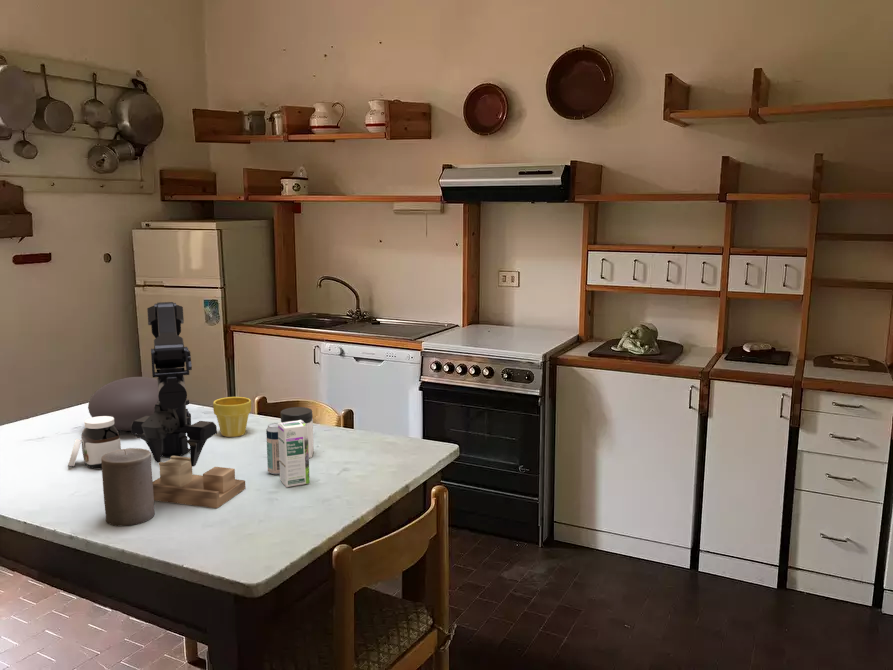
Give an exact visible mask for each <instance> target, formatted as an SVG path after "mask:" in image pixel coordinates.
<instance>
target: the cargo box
mask: <svg viewBox="0 0 893 670" xmlns="http://www.w3.org/2000/svg"><path fill="white" fill-rule="evenodd" d="M235 471H236V470H235V468H231V467H222V466H214V467H212V468H210V469H208V470H207V471H206V472H205V471H204V472H203V473H202V476H203V490H212V491H219V493H225V492H226V491H228V490H229V489H231V488H232V487H234V486H235V479H236V472H235Z"/></svg>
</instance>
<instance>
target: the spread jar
mask: <svg viewBox="0 0 893 670" xmlns="http://www.w3.org/2000/svg"><path fill="white" fill-rule="evenodd" d="M80 436H81V437H80V439H79V438H75V441H74V444H73V447H72V451H71V454H70V458H69V461H68V465H67V467H72V466H73V467H75V464H76V462H77V461H76V460H77V457H78V454H79V451H80V447H81V451H82V452H81V453H82V458H83V461H84V464H85V465H86V466H87V467H88V468H89V467H90V468H89V469H94V468H100V469H102V462H101V458H102V456H103V455H104V454H106V453H108V452H112V451H115V450H121V449H122V447H121V445H122V444H121V435H120V433H119V430H117V428H116V427H115V426H114V418H113V417H111V416H98V417H92V416H91V417H89V418H86V419H85V420H84V429H83V430H82V432H81V435H80Z"/></svg>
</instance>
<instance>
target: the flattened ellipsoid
mask: <svg viewBox="0 0 893 670" xmlns="http://www.w3.org/2000/svg"><path fill="white" fill-rule="evenodd" d="M158 400H159V399H158V383H157V378H156V377H149V376H131V377H125V378H120V379H117V380H113V381H110V382H109V383H107V384H105V385H102V386H101V387H100V388H98V389H97V390H96V391H94V393H93V394H92V396H91V397H90V399H89V400H88V404H87V405H88V406H87V409H88V413H89V415H90V417H91V418H92V417H98V416H111V417H113V418H114V426H115V427H116V428H117V430H118V431H120V432H121V431H122V432H131V425H132V423H133V421H135V420H137V419H140V418H142V417H145V416H151V415H153V414H154V411H155V409H154V407H155V404H156V403H157V401H158Z"/></svg>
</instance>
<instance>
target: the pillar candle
mask: <svg viewBox="0 0 893 670" xmlns="http://www.w3.org/2000/svg"><path fill="white" fill-rule="evenodd" d="M101 462H102V468H101V477H102V491H103V502H104V503H103V504H104V511H105V522H106V523H107V524H108V525H111V526H115V527H126V526H128V527H129V526H134V525H139V524H143V523H145V522H147V521H149V520H151V519H152V518H154V516H155V501H154V494H153V481H154V479H153V468H152V453H151V450H150V449H149V450H148V449H146V448H136V447H135V448H134V447H133V448H132V447H129V448H128V447H127V448H121V450H115V451H112V452H108V453H106V454H104V455H103V456H102V458H101Z"/></svg>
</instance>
